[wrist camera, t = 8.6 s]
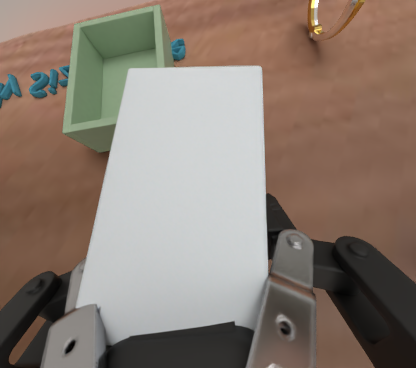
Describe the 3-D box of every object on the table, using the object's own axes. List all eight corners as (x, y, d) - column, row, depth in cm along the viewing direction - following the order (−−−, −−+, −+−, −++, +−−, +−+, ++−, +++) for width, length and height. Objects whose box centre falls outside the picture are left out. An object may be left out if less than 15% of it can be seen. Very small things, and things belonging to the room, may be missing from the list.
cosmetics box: (238, 262, 14) (280, 383, 4) (171, 256, 15) (53, 345, 4) (239, 157, 16) (268, 56, 6) (181, 156, 17) (119, 63, 7)
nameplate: (-49, 93, 23) (-57, 121, 22) (-58, 89, 22) (-67, 118, 21) (183, 38, 21) (188, 66, 20) (182, 32, 20) (187, 60, 19)
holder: (98, 152, 18) (61, 133, 14) (102, 61, 21) (73, 23, 17) (181, 139, 17) (168, 114, 13) (172, 47, 21) (159, 3, 17)
